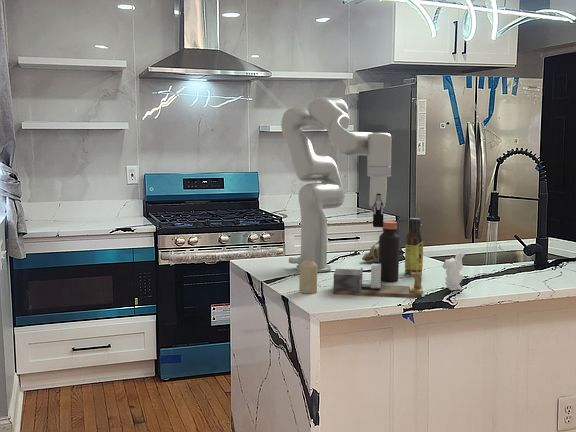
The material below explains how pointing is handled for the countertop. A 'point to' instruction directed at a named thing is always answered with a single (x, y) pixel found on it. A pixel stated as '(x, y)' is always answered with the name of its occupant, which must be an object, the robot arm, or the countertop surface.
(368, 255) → the ceramic sculpture
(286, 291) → the countertop surface
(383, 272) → the vinegar
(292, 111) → the robot arm
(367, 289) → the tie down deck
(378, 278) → the grey block
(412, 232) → the sauce bottle
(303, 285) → the candle
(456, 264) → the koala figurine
